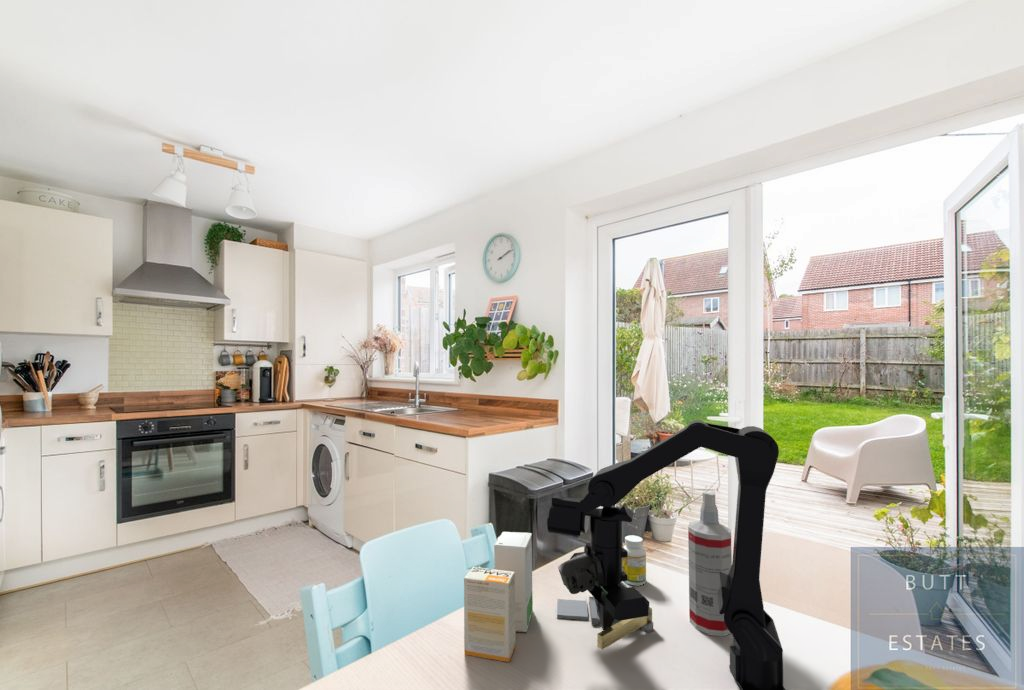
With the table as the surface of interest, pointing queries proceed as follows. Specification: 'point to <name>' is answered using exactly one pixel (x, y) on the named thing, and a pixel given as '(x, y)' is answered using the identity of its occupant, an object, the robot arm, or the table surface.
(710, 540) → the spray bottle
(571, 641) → the table surface
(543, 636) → the table surface
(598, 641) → the clip
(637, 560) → the supplement bottle
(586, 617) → the pad
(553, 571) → the table surface
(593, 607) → the socket
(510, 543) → the skincare box
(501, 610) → the supplement box
